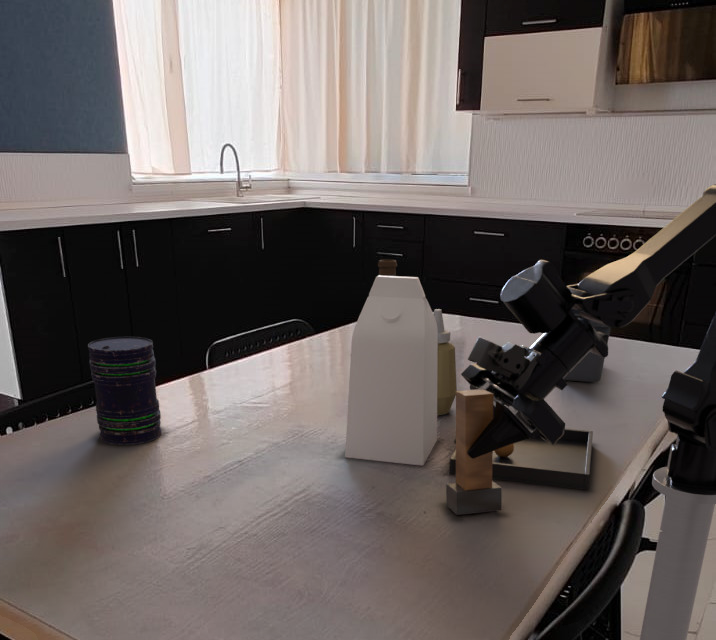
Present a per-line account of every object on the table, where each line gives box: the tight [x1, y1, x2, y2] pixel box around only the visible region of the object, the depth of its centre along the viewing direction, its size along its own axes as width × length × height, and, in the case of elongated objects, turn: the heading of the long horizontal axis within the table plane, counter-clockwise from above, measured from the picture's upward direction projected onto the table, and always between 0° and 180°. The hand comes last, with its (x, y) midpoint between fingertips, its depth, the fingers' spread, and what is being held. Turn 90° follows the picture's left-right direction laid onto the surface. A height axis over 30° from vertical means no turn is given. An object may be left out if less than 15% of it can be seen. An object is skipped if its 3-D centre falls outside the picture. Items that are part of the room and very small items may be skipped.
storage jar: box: [87, 336, 163, 446], centre depth 122 cm, size 10×10×15 cm
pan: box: [448, 428, 594, 491], centre depth 116 cm, size 19×19×2 cm
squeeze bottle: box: [433, 308, 458, 416], centre depth 134 cm, size 8×8×18 cm
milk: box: [344, 274, 438, 466], centre depth 115 cm, size 12×12×26 cm
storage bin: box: [564, 308, 612, 383], centre depth 161 cm, size 21×16×14 cm
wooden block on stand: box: [445, 389, 503, 516], centre depth 97 cm, size 6×4×15 cm, turn 103°
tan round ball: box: [494, 444, 514, 457], centre depth 115 cm, size 3×3×3 cm
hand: (462, 450), depth 96 cm, fingers closed on wooden block on stand, 4 cm apart
